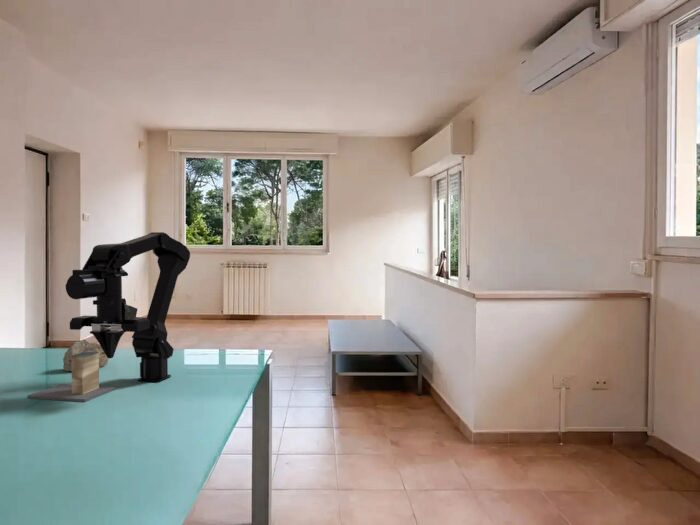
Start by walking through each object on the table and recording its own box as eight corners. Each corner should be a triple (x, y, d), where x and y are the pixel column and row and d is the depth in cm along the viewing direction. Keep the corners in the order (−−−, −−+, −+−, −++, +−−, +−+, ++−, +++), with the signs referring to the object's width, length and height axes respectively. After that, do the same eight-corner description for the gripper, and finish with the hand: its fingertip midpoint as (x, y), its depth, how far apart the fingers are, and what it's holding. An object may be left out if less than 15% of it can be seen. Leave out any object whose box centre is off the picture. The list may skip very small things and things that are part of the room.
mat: (115, 389, 133) (115, 387, 133) (84, 401, 122) (84, 399, 122) (61, 386, 136) (61, 383, 136) (27, 397, 125) (27, 395, 125)
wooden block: (99, 387, 132) (98, 351, 132) (82, 394, 126) (82, 356, 126) (88, 387, 132) (88, 351, 132) (71, 393, 127) (71, 355, 126)
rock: (58, 370, 148) (70, 336, 150) (59, 368, 154) (71, 336, 156) (102, 379, 153) (113, 346, 155) (102, 377, 159) (113, 345, 161)
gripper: (161, 293, 133) (162, 352, 134) (98, 291, 137) (99, 350, 137) (135, 297, 122) (136, 362, 123) (67, 295, 126) (68, 359, 127)
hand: (110, 358), depth 128 cm, fingers closed
